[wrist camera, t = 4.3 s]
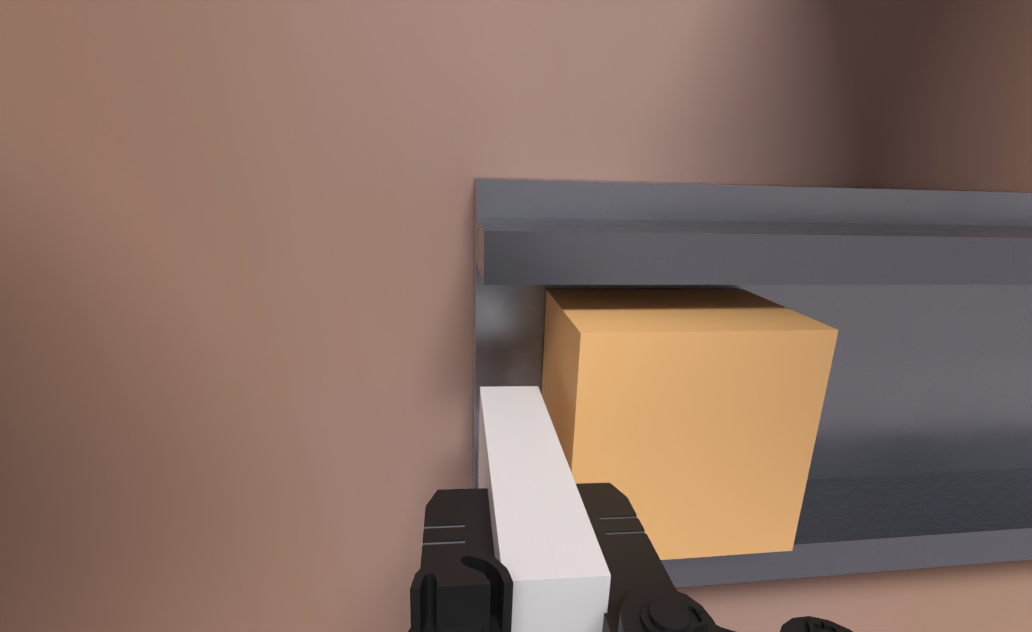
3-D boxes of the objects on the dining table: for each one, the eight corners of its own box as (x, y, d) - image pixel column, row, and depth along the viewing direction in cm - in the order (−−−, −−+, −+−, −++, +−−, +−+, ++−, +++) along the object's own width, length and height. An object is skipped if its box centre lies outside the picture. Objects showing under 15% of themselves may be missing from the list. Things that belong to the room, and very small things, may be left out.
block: (538, 473, 17) (565, 566, 13) (546, 289, 15) (581, 332, 11) (716, 465, 17) (792, 550, 14) (743, 288, 16) (838, 329, 12)
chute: (472, 534, 18) (479, 632, 14) (474, 177, 15) (484, 183, 11) (1223, 487, 22) (1383, 554, 19) (1357, 200, 19) (1585, 210, 15)
